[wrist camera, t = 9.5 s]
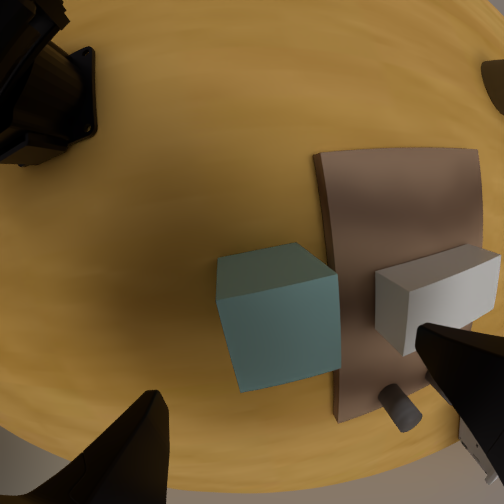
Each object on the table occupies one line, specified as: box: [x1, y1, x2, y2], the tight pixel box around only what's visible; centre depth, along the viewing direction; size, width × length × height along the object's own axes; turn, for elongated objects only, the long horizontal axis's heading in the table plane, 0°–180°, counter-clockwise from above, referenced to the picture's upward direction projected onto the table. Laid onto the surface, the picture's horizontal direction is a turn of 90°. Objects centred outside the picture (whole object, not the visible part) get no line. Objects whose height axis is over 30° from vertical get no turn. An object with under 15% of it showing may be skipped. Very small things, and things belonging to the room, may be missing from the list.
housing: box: [375, 244, 501, 356], centre depth 14 cm, size 4×9×4 cm, turn 100°
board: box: [313, 148, 483, 432], centre depth 15 cm, size 20×14×5 cm
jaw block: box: [216, 242, 341, 393], centre depth 13 cm, size 4×4×6 cm
